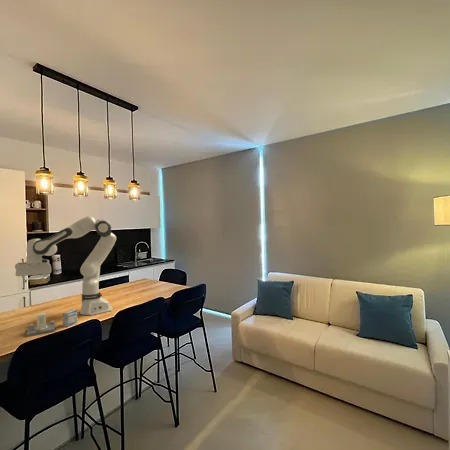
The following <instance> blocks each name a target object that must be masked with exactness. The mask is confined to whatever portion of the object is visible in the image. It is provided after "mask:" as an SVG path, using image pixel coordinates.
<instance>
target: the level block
mask: <svg viewBox="0 0 450 450" xmlns="http://www.w3.org/2000/svg"><path fill="white" fill-rule="evenodd" d="M46 324H47V312H40V313H37V314H36V325H37V329H38V328H41V327H43V328H46Z"/></svg>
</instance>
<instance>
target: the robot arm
mask: <svg viewBox="0 0 450 450" xmlns="http://www.w3.org/2000/svg"><path fill="white" fill-rule="evenodd" d="M91 231H96V233H97V234H98V235H100V239H99V240H98V241H97V243H96V245H95V246H94V248H93V250H92V251H91V252H90V253H89V255H88V256H87V258H85V260H84V262H83V263H82V265H81V267H80V269H79V272H80V274H81V275H82V276H83V280H82V291H81V292H82V293H81V307H80V311H79V314H80V315H84V316H85V315H87V316H94V315H98V314H102V313H108V312H112V311H113V306H111V305H110V301H108V300H107V299H106V298H105V297H103V296H104V295H103V293H102V292H99V286H100V284H99V283H100V276H101V275H100V274H101V265H102V264H103V262H104V261H105V260H106V258H107V257H108V255H109V254H110V252H111V251H112V249H113V247H114V246H115V243H116V241H117V236H116V235H115V234H114V233H113V232H112V224H111V222H110V221H109V220H106V219H95V217H93V216H92V215H88V216H85V217H82V218H80V219H78V220H77V221H76V222H74V223H72V224H71V225H69V226H67V227H65V228H63V229H61V230H59V231H57V232H55V233H53V234H52V235H50V236H48V237H46V238H42V239H41V238H31V239H30V240H27V244H26V257H25V259H26V260H25V262H24V261H22V262H17V263H16V264H15V265H14V269H15V276H16V277H21V278H22V280H23V283H24V284H25V283H27V282H28V279H25V278H26V277H28V276H37V275H38V276H39V275H42V276H43V277H41V278H40V281H41V282H44V280H45V279H44V278H45V277H46V275H48V274H49V275H51V273H52V266H51V264H50V260H49V259H47V258H43V256H47V257H50V256H54V255H55V254H56V253H57V252H58V245H57V244H59V243H60V242H62V241H64V240H67V239H79V238H81V237H83V236H85V235H87V234H88V233H89V232H91ZM25 276H26V277H25Z"/></svg>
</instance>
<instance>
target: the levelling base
mask: <svg viewBox="0 0 450 450" xmlns="http://www.w3.org/2000/svg"><path fill="white" fill-rule="evenodd" d="M55 331H56V322H55V320H54V319H53V320H49V322H48V323H47V322H46V328H43V327H41V328H38V329H37V324H36V325H34V323H29V324H28V327H27V330H26V334H25V338H26V337H33V336H37V335H44V334H49V333H55Z"/></svg>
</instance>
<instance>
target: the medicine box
mask: <svg viewBox="0 0 450 450" xmlns="http://www.w3.org/2000/svg"><path fill="white" fill-rule="evenodd" d="M77 323H78V309H69V310H68V311H65V312H62V327H67V328H68V327H70V326H73V325H74V324H77Z"/></svg>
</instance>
